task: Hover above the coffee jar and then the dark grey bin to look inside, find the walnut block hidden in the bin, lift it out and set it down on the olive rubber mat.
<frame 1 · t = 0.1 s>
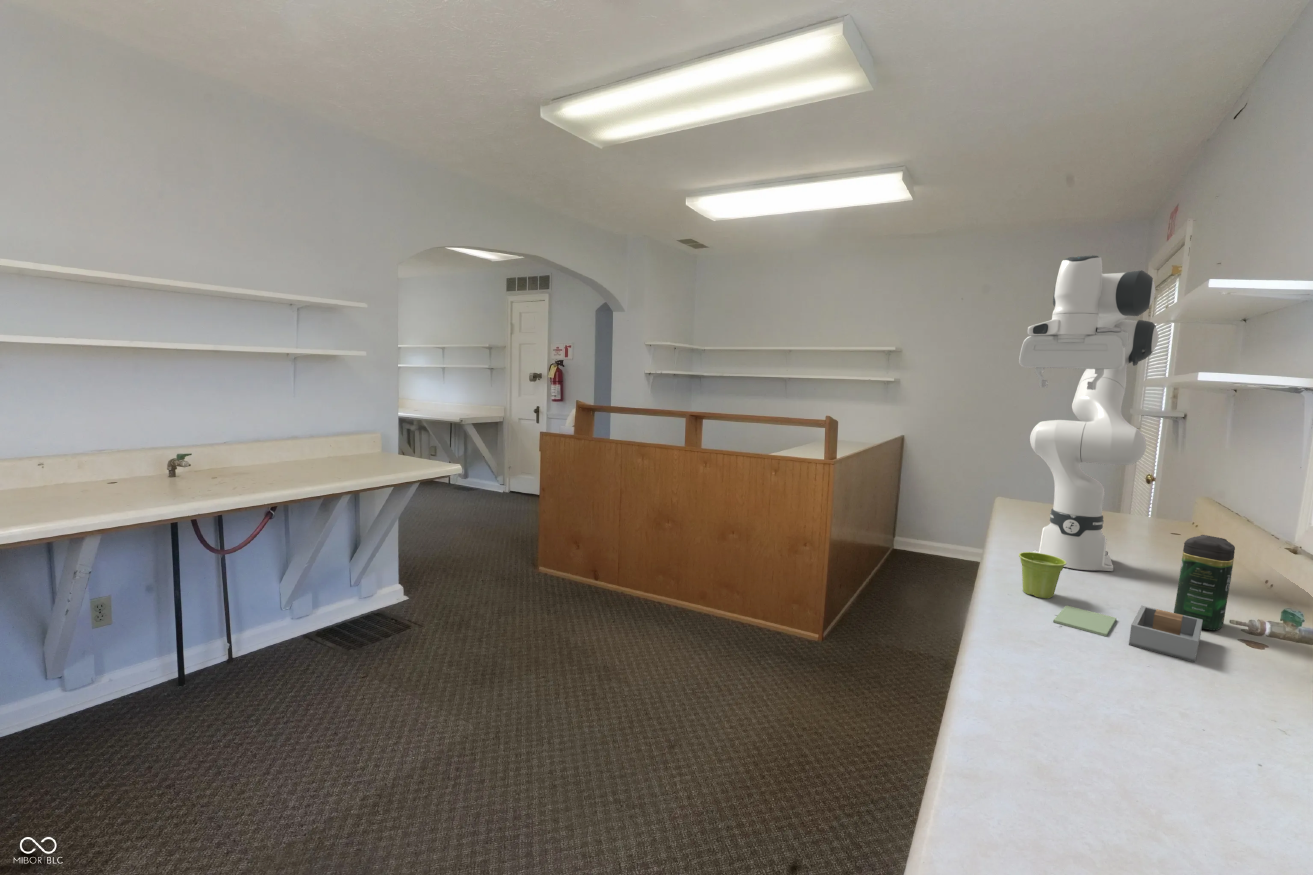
hand: (1066, 388, 143), 48 cm above the worktop, fingers open, 8 cm apart
olive mat: (1085, 621, 129), on the worktop
plant pot: (1038, 594, 145), on the worktop
grey bin: (1164, 641, 120), on the worktop
walnut block: (1165, 639, 120), resting on grey bin
coffee jar: (1198, 624, 131), on the worktop
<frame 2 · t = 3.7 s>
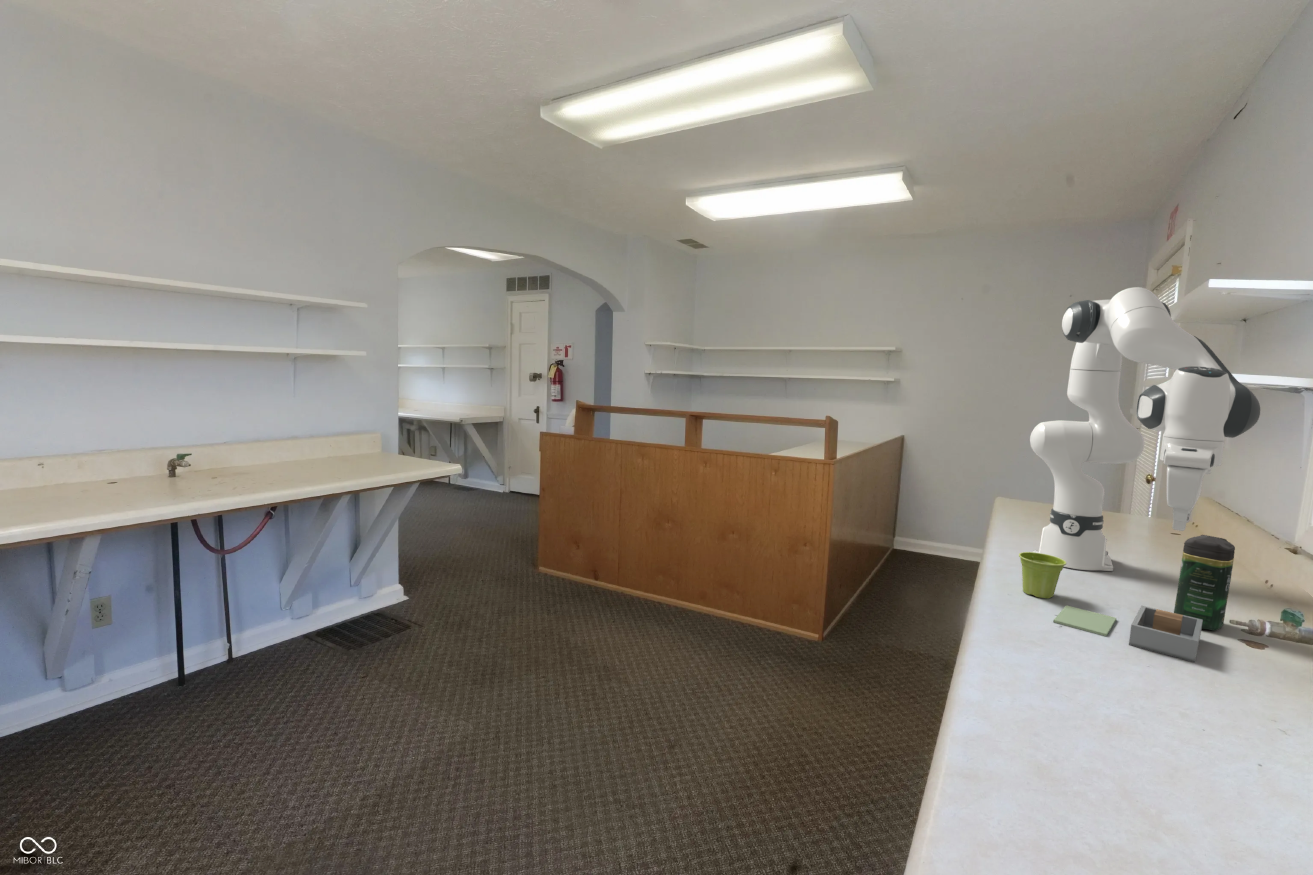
hand: (1180, 525, 118), 23 cm above the worktop, fingers open, 8 cm apart
nothing on the worktop moved.
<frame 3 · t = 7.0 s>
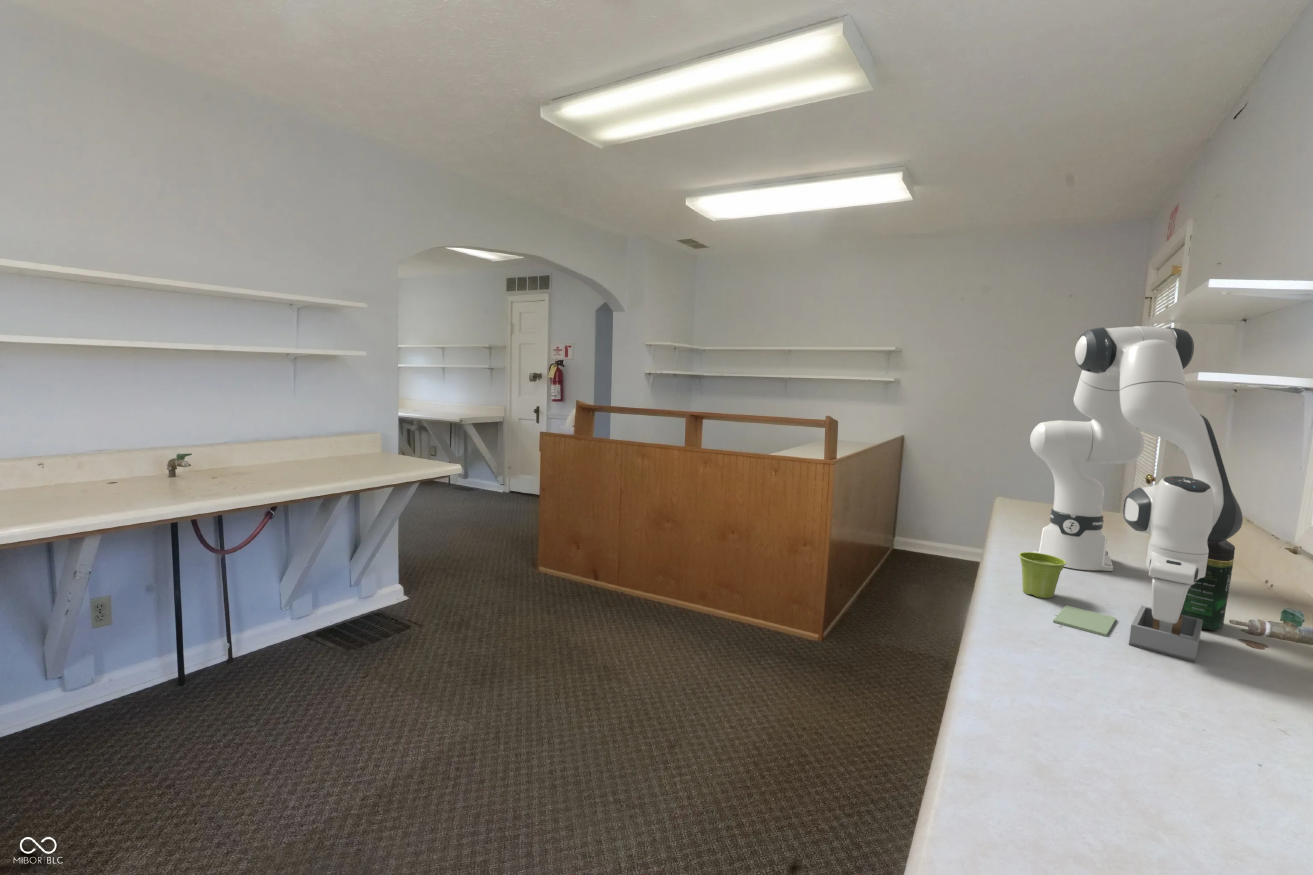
hand: (1166, 631, 120), 2 cm above the worktop, fingers closed on walnut block, 4 cm apart
walnut block: (1165, 639, 120), point 1 cm above the worktop, touching grey bin, gripper
everything else where it was.
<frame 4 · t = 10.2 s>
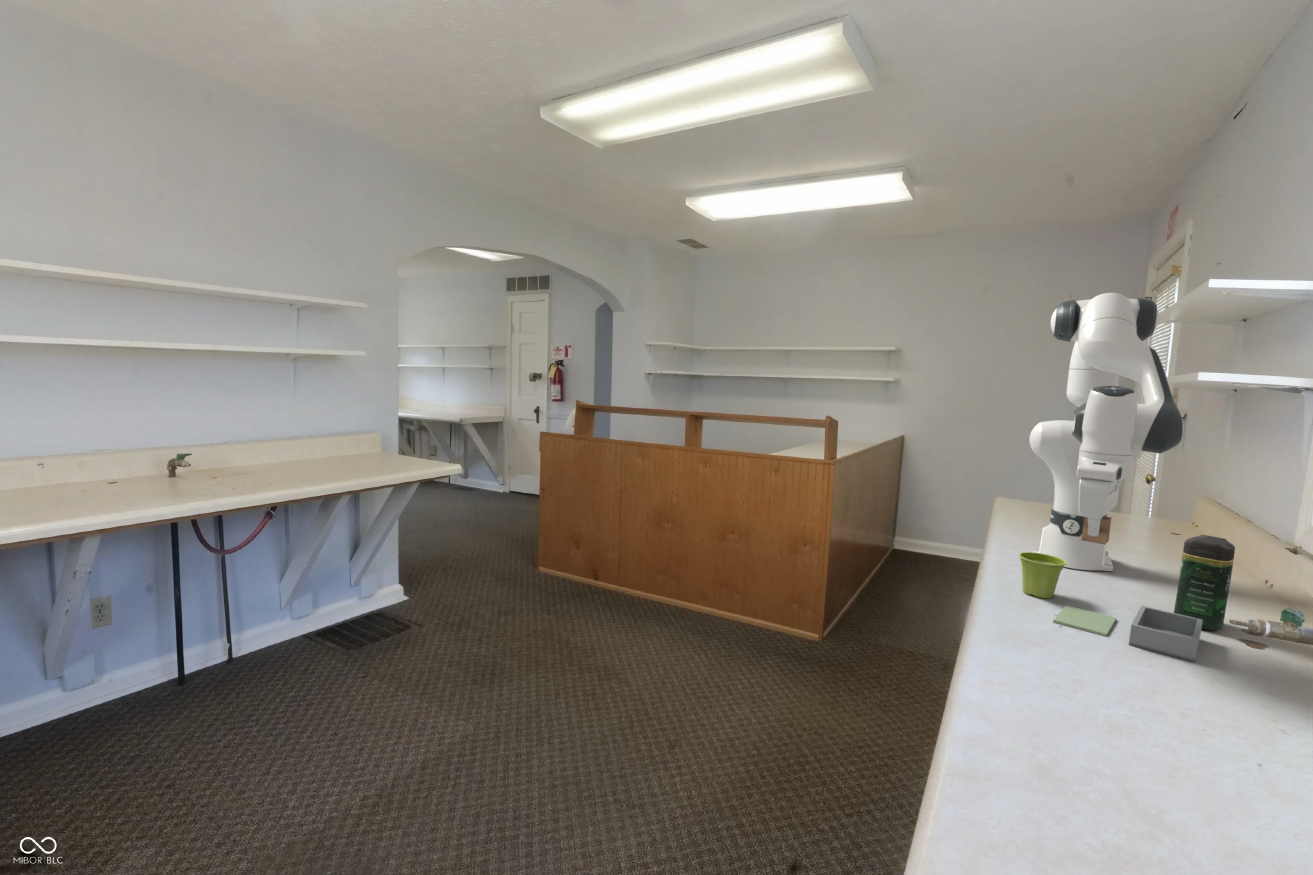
hand: (1095, 533, 127), 19 cm above the worktop, fingers closed on walnut block, 4 cm apart
walnut block: (1095, 540, 127), point 17 cm above the worktop, touching gripper
everything else where it was.
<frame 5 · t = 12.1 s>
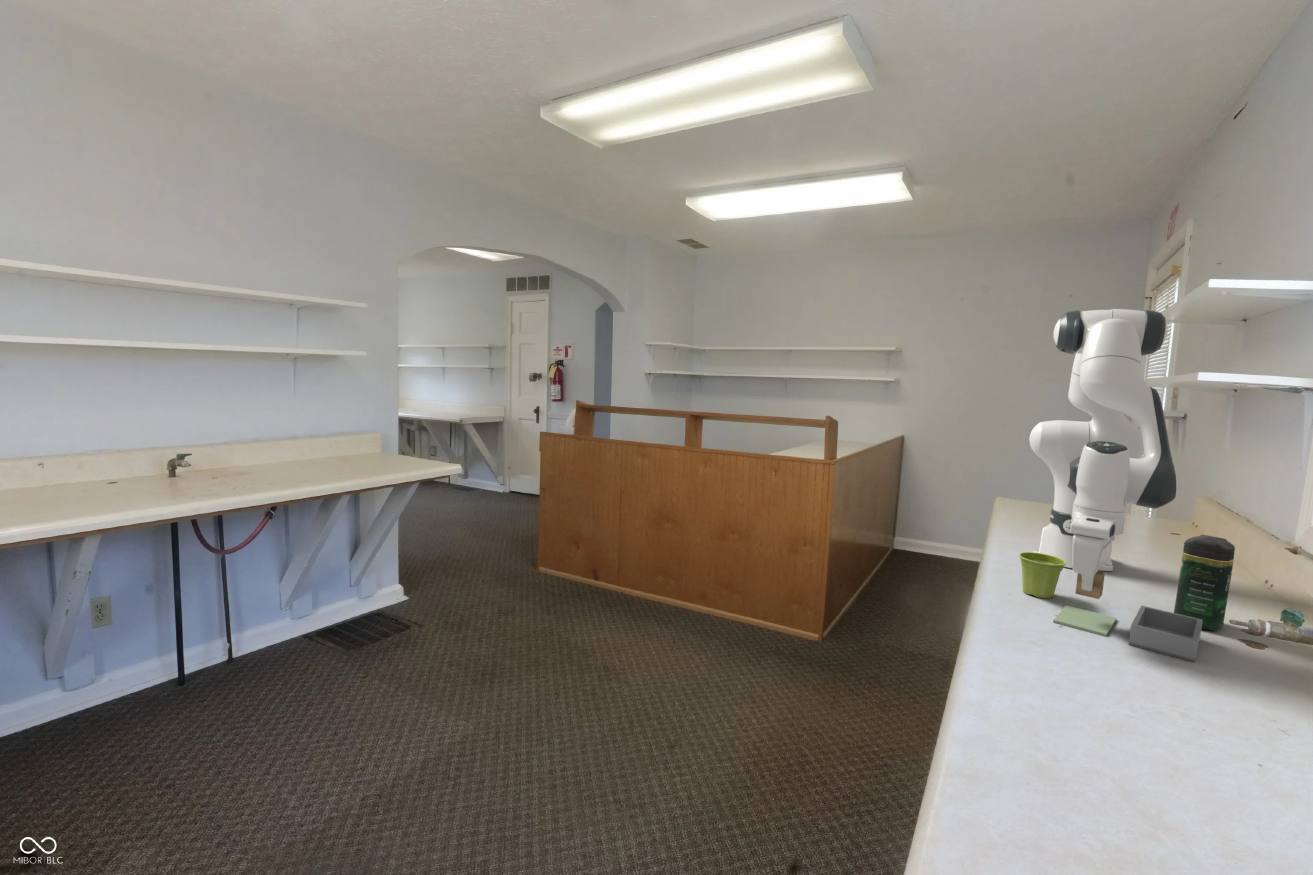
hand: (1089, 586, 128), 7 cm above the worktop, fingers closed on walnut block, 4 cm apart
walnut block: (1088, 594, 128), point 6 cm above the worktop, touching gripper
everything else where it was.
when the fingers open (4 cm above the worktop, at t = 13.7 s): walnut block drops 1 cm, resting on olive mat.
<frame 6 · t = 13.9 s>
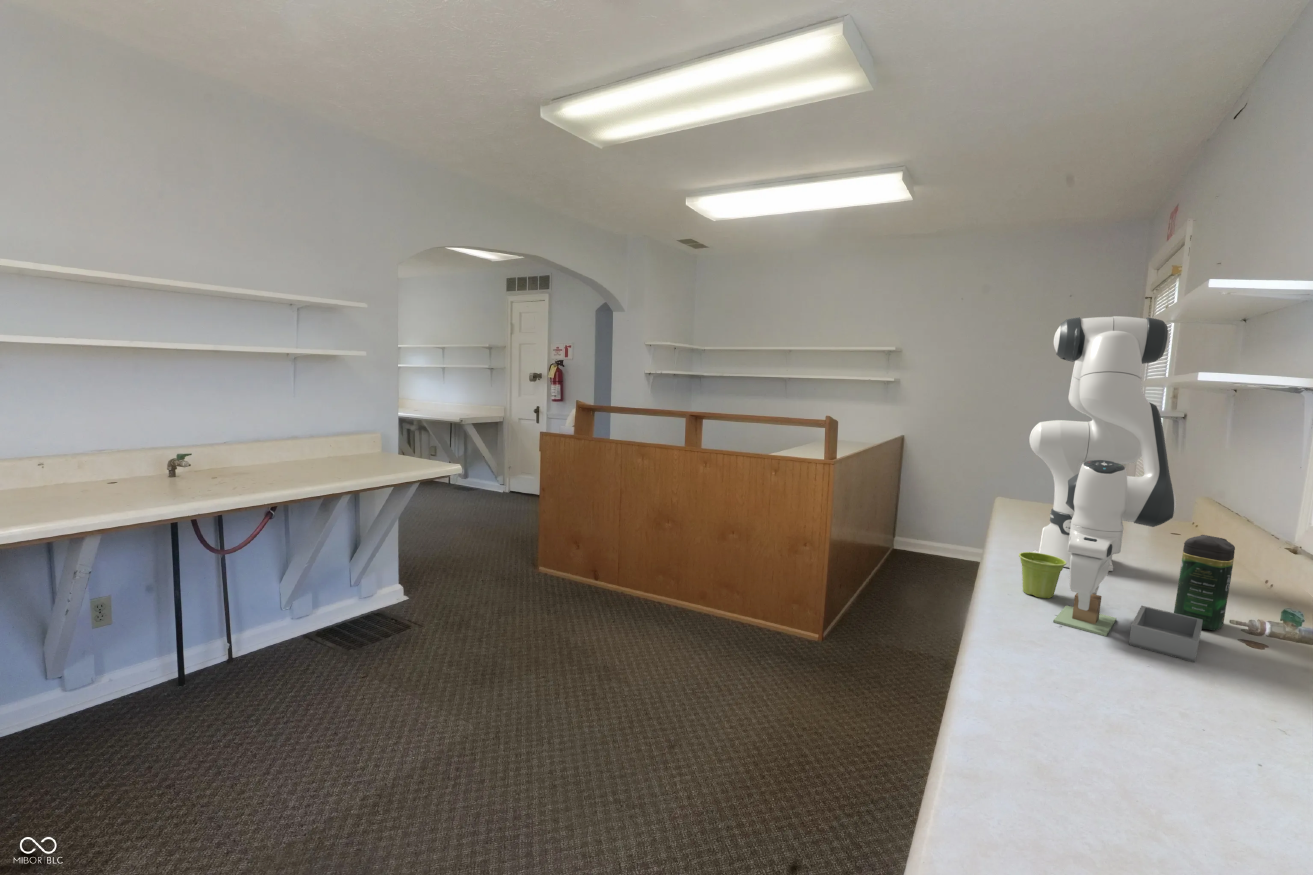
hand: (1087, 604, 129), 4 cm above the worktop, fingers open, 6 cm apart
walnut block: (1085, 618, 129), resting on olive mat
everything else where it was.
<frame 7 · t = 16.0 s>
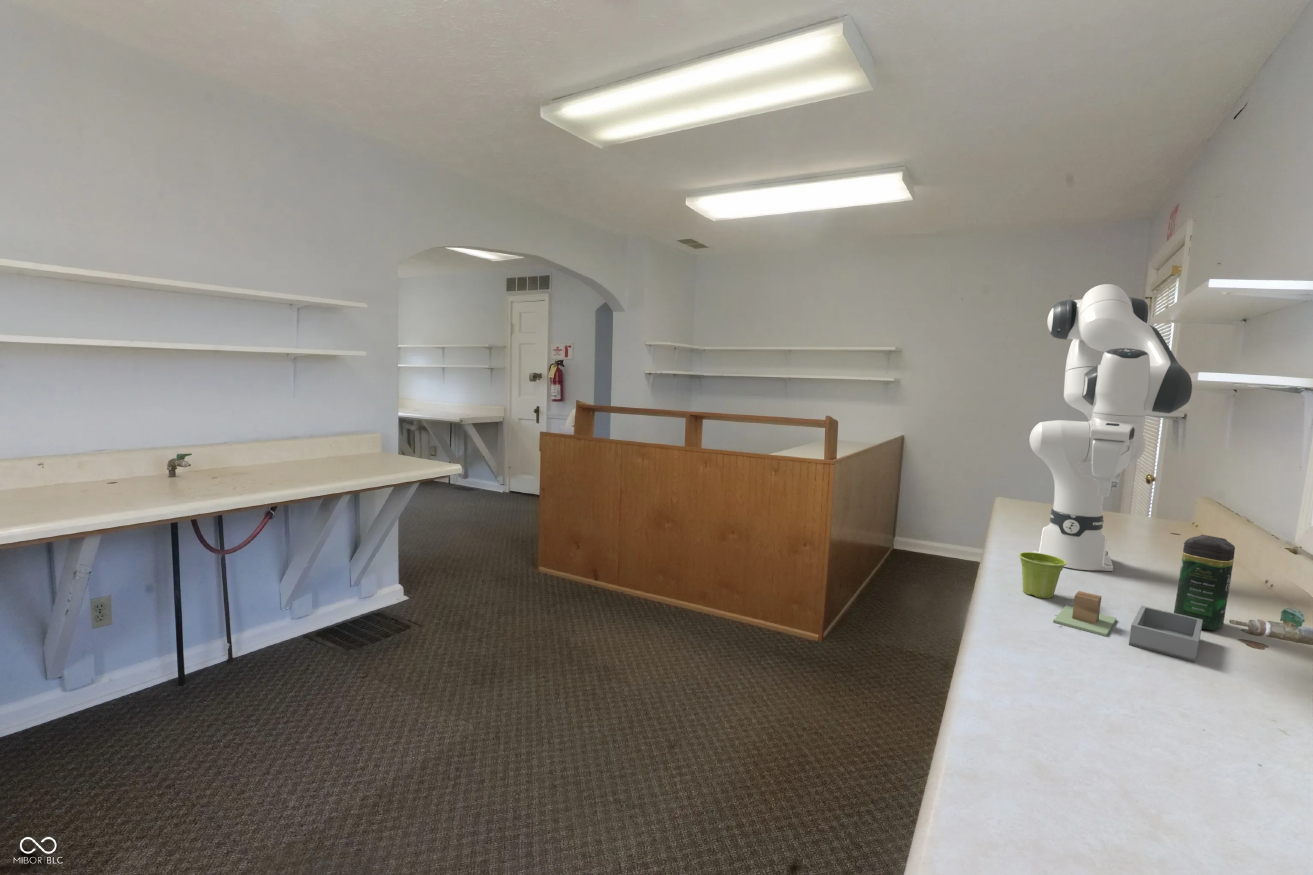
hand: (1108, 492, 130), 27 cm above the worktop, fingers open, 8 cm apart
nothing on the worktop moved.
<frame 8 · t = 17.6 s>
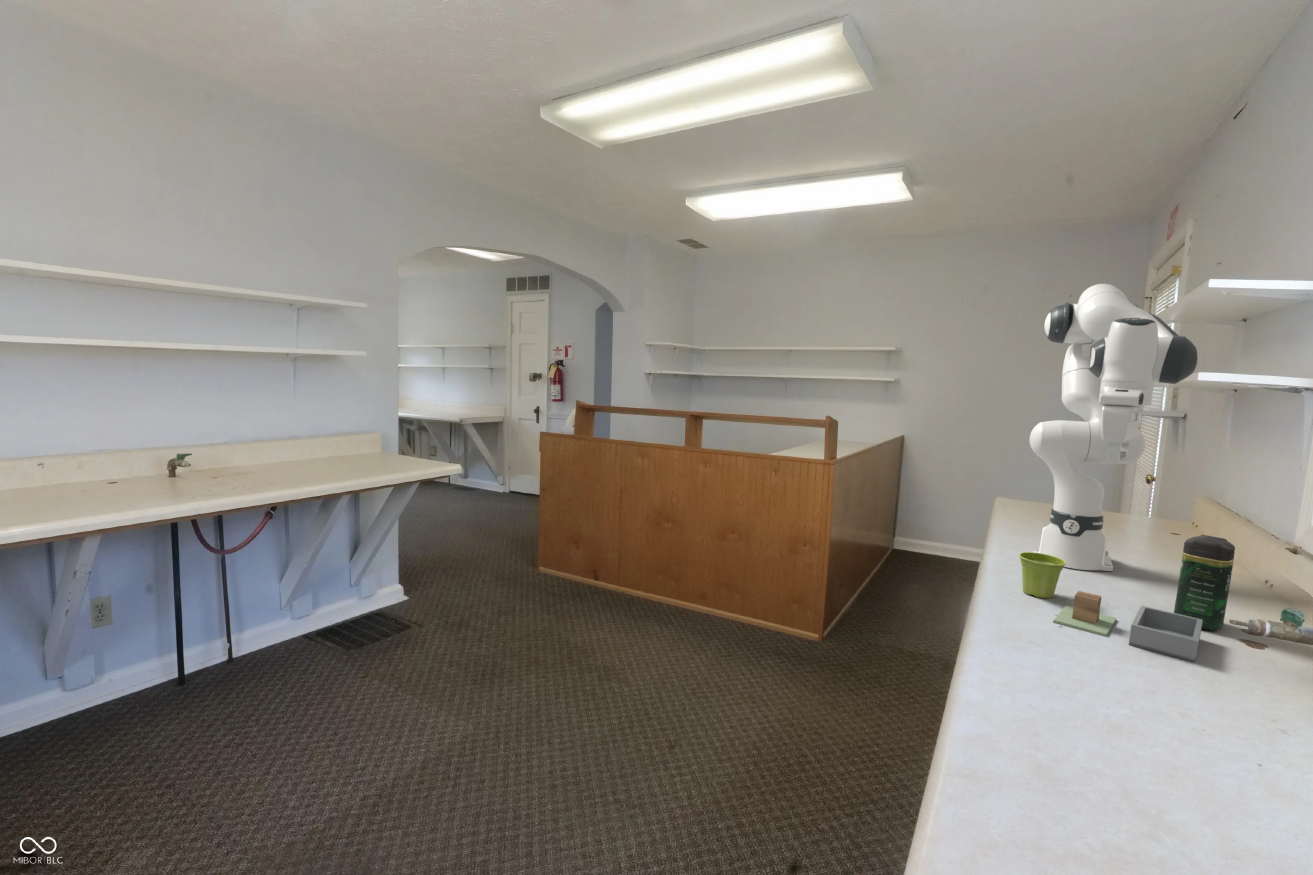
hand: (1117, 461, 131), 33 cm above the worktop, fingers open, 8 cm apart
nothing on the worktop moved.
at the end: walnut block inside the target area on the olive mat (0.1 cm from its centre), point 0.5 cm above the olive mat's base; walnut block tilted 0°; the gripper is holding nothing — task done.
